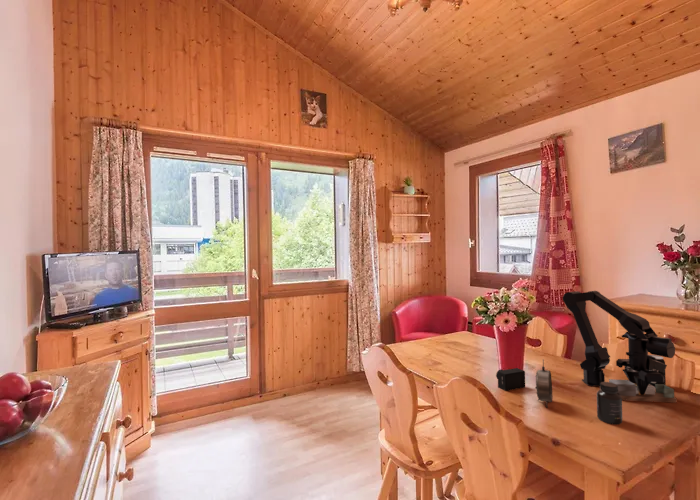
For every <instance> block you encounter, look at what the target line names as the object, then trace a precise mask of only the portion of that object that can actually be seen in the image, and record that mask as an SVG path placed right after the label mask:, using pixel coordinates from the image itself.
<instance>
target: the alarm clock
mask: <svg viewBox="0 0 700 500" xmlns="http://www.w3.org/2000/svg"><path fill="white" fill-rule="evenodd" d="M544 361H545V359H544V358H543V359H542V366H541V369H538V370H537V371H536V374H535V389H536V395H537V401H541V402H545V408H547V409H548V403H552V402H553V382H552V373H551V370H548V369H547V370H546V369H545V366H544V364H545V362H544Z"/></svg>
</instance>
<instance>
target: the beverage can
mask: <svg viewBox="0 0 700 500" xmlns="http://www.w3.org/2000/svg"><path fill="white" fill-rule="evenodd" d="M649 355H650V356H652V357H655V359H656V361H659V362H661V363H663V364H666V361H665V359H664V358H665V357H663V356H658V355H653V354H649ZM647 371H656V372H658V373H660V374H662V375H663V376H664V382H650V383H649V384H650V385H652V386H654V387H655V384H663V385H666V383H667V382H666V378H667V377H666V371H665V372H664V373H662V372H661V371H658V370H656V369H653V370H647ZM666 386H667V385H666Z"/></svg>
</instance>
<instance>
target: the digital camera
mask: <svg viewBox="0 0 700 500" xmlns="http://www.w3.org/2000/svg"><path fill="white" fill-rule="evenodd" d="M495 377H496V379H497V387H498V389H500V390H502V391H504V392H507V391H513V390H518V389H524V388H526V370H523V369H520V368H518V367H515V368H514V367H513V368H509V369H499V370H497V372H496V374H495Z"/></svg>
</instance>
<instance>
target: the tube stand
mask: <svg viewBox="0 0 700 500" xmlns="http://www.w3.org/2000/svg"><path fill="white" fill-rule="evenodd" d="M608 382H611V383H614V384H616V385H618V393H619V394H620V395H621V397H622V401H632V402H635V401H636V402H653V401H654V402H658V403H660V402H661V403H675V404H676V403H677V402H678V401H677V398H676V397H675V389H674V388H672V387H670V386H668V385H663V384H655V395H651V394H645V395H639V394H636V385H635V384H634V383H632V382H630V381H629V380H628V379H608Z"/></svg>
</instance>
